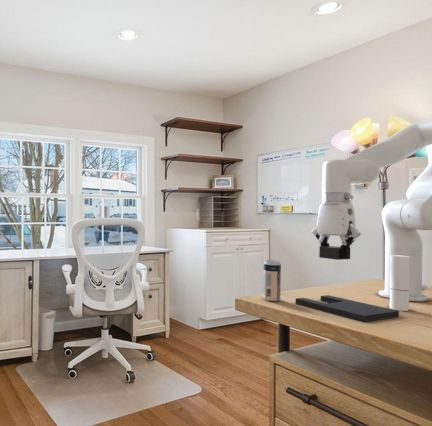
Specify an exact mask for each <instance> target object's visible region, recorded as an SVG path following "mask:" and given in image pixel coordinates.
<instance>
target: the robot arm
mask: <svg viewBox="0 0 432 426" xmlns="http://www.w3.org/2000/svg"><path fill="white" fill-rule="evenodd" d="M424 148H425V151H426V154H427V155H426V156H427V160H428V162H427V163H428V164H427V166H426V167H425V169H424V170H423V171H422V172H421V173H420V174H419V175H418V176H417V177H416V179H414V181H412V183H411V184H410V186H409V187H408V188H407V190H406V199H396V200H392V201H390V202H388V203H386V204H385V205H384V207H383V208H382V210H381V220H382V225H383V229H384V289H381V290H379V291H378V295H379V296H381V297H382V298H383V297H384V298H387V299H390V255H403V256H409V302H427V301H428V300H429V297H428V296H427V295H426V294H422V292H423V291H427V290H428V286H427V285H426V284H423V240H422V237H421V236H420V234H419V232H418V231H432V117H429V118H424V119H420V120H417V121H414V122H412V123H410V124H408V125H407V126H405V127H403V128H402V129H400V130H398V131H397V132H395V133H393V134H392V135H390V136H388V137H387V138H385V139H383V140H381V141H379V142H377V143H374V144H372V145H371V146H369V147H365V148H364V149H362V150H360V151H357V152H356V153H353V154H352V155H350V156H348V157H346V158H345V159H343V158H342V159H339V158H338V159H329V160H325V161H324V162H323V163H322V176H321V177H322V180H321V181H322V182H321V183H322V185H321V203H320V204H319V208H318V214H317V221H316V226H315V227H314V228H313V229H312V230H311V232H312V234H313V235H314V237H315V239H317V241H318V243H319V245H320V246H330V242H329V240H330V238H331V236H337V237H339V238H340V241H341V244H340V246H339V247H340V248H341V251H340V257H341V258H349V255H350V256H351V246H352V245H353V243H354V242H355V241H356V240H357V239H358V238H359V237H360V236H361V232H360V231H359V229H358V228H357V226H356V224H357V223H356V214H355V209H354V206H353V203H351V200H354V196H353V194H351V186H353V185H364V184H369V183H372V182H374V181H376V180H377V179H378V178H379V177H380V175H381V168H385V167H389V166H393V165H395V164H398V163H401V162H403V161H404V160H406V159H408V158H409V157H410V156H412V155H414V154H416V153H417V152H419V151H421V150H422V149H424ZM320 246H319V247H320Z"/></svg>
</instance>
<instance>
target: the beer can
mask: <svg viewBox="0 0 432 426" xmlns="http://www.w3.org/2000/svg"><path fill="white" fill-rule="evenodd" d="M281 279H282V264H281V261H280V260H277V259H276V260H275V259H266V260H264V263H263V291H262V293H263V295H262V297H263V299H264V300H266V301H268V302H278V301H280V300H281V288H282V287H281V284H282V283H281Z"/></svg>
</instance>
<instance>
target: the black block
mask: <svg viewBox="0 0 432 426" xmlns="http://www.w3.org/2000/svg"><path fill="white" fill-rule="evenodd" d="M340 251H341V248H340V246H337V245H336V246H334V245H329V246H319V251H318V253H319V254H318V257H319V258H320V259H329V260H335V261H338V260H339V261H340V260H341V261H342V260H351V254H350V255H349V258H341V257H340Z"/></svg>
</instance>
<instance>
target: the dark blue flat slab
mask: <svg viewBox="0 0 432 426" xmlns="http://www.w3.org/2000/svg"><path fill="white" fill-rule="evenodd" d="M295 305H299V306H302V307H307V308H311V309H314V310H318V311H322V312H326V313H328V314H332V315H337V316H340V317H344V318H348V319H352V320H356V321H359V322H363V323H366V322H373V321H381V320H386V319H391V318H392V319H393V318H398V317H400V311H399V310H394V309H391V308H388V307H384V306H378V305H374V304H369V303H365V302H360V301H356V300H352V299H348V298H342V297H339V296H335V295H330V294H327V295H321V296H320V301H318V300H315V299H311V298H306V297H298V298H295Z"/></svg>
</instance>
